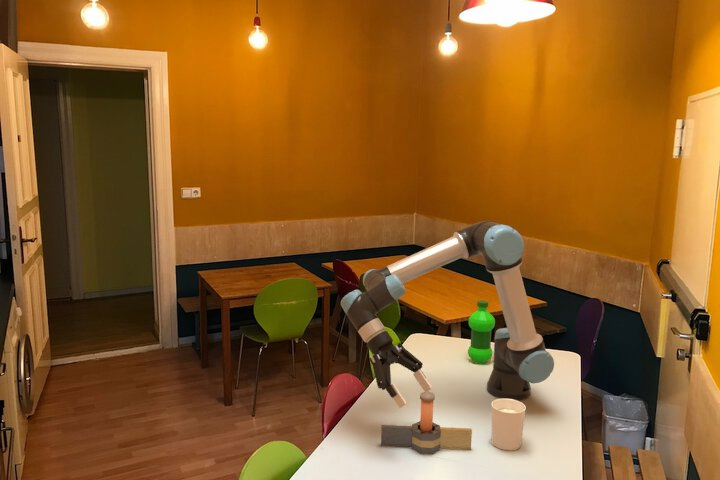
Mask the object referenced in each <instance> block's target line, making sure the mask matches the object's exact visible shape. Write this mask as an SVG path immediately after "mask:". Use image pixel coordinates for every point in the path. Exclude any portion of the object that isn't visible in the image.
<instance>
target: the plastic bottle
mask: <svg viewBox="0 0 720 480" xmlns="http://www.w3.org/2000/svg"><path fill="white" fill-rule="evenodd" d="M476 306H477V308H478V309H477V310H476V311H474V312H473V313H472V314H471V315H470V316H469V318H468V322H467V323H468V326H469V328H470V329H471V332H470V346H469V347H468V349H467V355H468V357H469V358H470V359H471V360H472V361H473V363H475V364H479V365H482V364H486V363H487V362H488V361H489V360H491V358H492V356H493V355H494V350H493V348H492V347H491V342H492V330H493V329H494V328H495V326H496V319H495V317H494V316H493V315H492V314H491V313H490V312H489V311H488V308H489V302H488V301H487V300H477V302H476Z"/></svg>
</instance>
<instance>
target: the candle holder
mask: <svg viewBox="0 0 720 480" xmlns="http://www.w3.org/2000/svg"><path fill="white" fill-rule="evenodd" d="M490 404H491V443H492V445H493V446H494V447H496V448H497V449H499V450H503V451H516V450H518V449H520V448H521V446H522V441H523V440H522V439H523V434H524V433H523V432H524V423H525V419H526V418H525V416H526V410H527V407H526V404H524V403H523V402H522V401H519V400H513V399H506V398H497V399H494V400H493V401H491V403H490Z"/></svg>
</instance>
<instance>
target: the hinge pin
mask: <svg viewBox="0 0 720 480" xmlns="http://www.w3.org/2000/svg"><path fill="white" fill-rule="evenodd" d="M435 398H436V395H435V393H433V392H430V391H427V392H424V391H423V392H421V393H420V394H419V399H420V418H419V421H420V430H421V431H423V432H432V423H434V422H433V421H434V419H433V417H434V401H435Z"/></svg>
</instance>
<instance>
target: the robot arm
mask: <svg viewBox="0 0 720 480" xmlns="http://www.w3.org/2000/svg"><path fill="white" fill-rule="evenodd" d="M524 249H525V244H524V239H523V237H522V235H521V234H520V233H519V232H518V230H516V229H515V228H513V227H511V226H509V225H506V224H501V223H498V222H495V221H492V220H483V221H482V220H481V221H479V222H476V223H474V224H473V223H472V224H470V225H468V226H466V227H464V228H462V229H460V230H457V231H455V232H454V233H453V235H452V236H451V237H448V238H447V239H444V240H442V241H440V242H438V243H436V244H434V245H432V246H429V247H426V248H424V249H422V250H420V251H418V252H415V253H413V254H411V255H409V256H407V257H404V258H402V259H399V260H397V261H396V262H393V263H391V264H388V265H386V266H384V267H382V268H379V269H376V268H373V269H369V270H367V271H366V272H365V273H364V274H363V277H362V283H363V285H362V286H364V289H365V291H364V292H362V291H361V290H360V289H355V290H352V291H350V292H348V293H347V294H346V295H344V297H342V298H341V301H340V306H341V308H342V310H343V311H344V313H345V315H346V316H347V318H348V320H349V321H350V322H351V323H352V325H353V327H354V328H355V329H356V331H357V333H358V335H359V336H360V337H361V339H362V340H363V342H364V343H366V347H367V349H368V350H369V351H370V353H371V354H372V356H370V357H369V361H370V363H371V366H372V369H373V374H374V377H375V382H376V385H377V388H378V389H379V390H382V391H385V390H386V392H387V393H388V395H389V397H391V399H392V400H394V403H395V404H396V406H397V407H398V408H399V409H401V408H402V407H404V406H405V405H406V404H407V401H406V399H405V398H404V396H403V394H402V393H401V392H400V390H399V389H398V387H397V386H396V384H395V382H394V383H392V377H391V376H392V375H391V373H392V372H391V365H393V364H399V365H401V366H402V367H403V368H405V369H407V370H409V371H411V372H413V373H412V375H413V377H414V378H415V380H416V381H417V382H418V384H419V385H420V387H421V389H422V391H423V392H430V390H431V389H432V388H433V386H432V385H431V384H430V382H429V380H428V379H427V376H426V375H425V374H424V372H423V371H422V370H421V369H423V362H422V361H420V360H419V359H418V358H417V357H416V356H415V355H413V354H412V353H411V352H409V350H407V349H406V348H405V347H404V345H403V344H402V343H400V342H399V343H397V344H396V345H394V344H393V341H394V340H393V337H392V336H391V334H390V333H389V332H388V331H387V330H386V327H385V326H384V324H383V323H382V321H381V320H380V319H379V317H378V316H377V314H379V312H381V311H383V310H384V309H386V308H387V307H389V306H390V305H391V304H393V303H395V302H396V301H399V299H401V298H402V297H403V296H404V295H405V294H406V292H407V291H406V288H405V285H404V284H405V283H407V282H410V281H412V280H414V279H416V278H419V277H421V276H423V275H425V274H428V273H430V272H433V271H434V270H436V269H439V268H441V267H443V266H446V265H447V264H450V263H453V262H455V261H457V260H460V259H461V258H464V259H469V258H471V257H474V256H482V258H483V262H484V265H485V270H486V271H487V272H488V273H490V274H492V277H493V280H494V281H493V282H494V284H495V288H496V292H497V296H498V298H499V299H498V300H499V303H500V306H501V307H500V308H501V310H502V315H503V317H504V322H505V325H506V327H503V328H501V327H500V328H498V329H497V330H496V331H495V332H494V333H495V334H494V343H493V344H494V345H493V363H492V364H493V365H492V367H493V368H492V371H491V373H490V376H489V377H488V381H487V383H486V384H487V386H486V391H487V392H488V393H489V394H491V395H492V396H494V397H496V398H498V399H502V398H506V399H513V400H517V401H519V400H525V399H527V398H529V397H530V396H531V393H532V392H531V389H532V388H531V385H530V384H540V383H543V382H544V381H546V380H547V379H549V377H550V375H551V374H552V373H553V371H554V368H555V360H554V358H553V356H552V354H551V353H550V352H549V351H547V350H546V346H545V342H544V338H543V336H542V335H541V334H539V333H538V332H537V331H536V327H535V323H534V319H533V315H532V312H531V308H530V304H529V301H528V297H527V293H526V289H525V286H524V281H523V277H522V274H521V269H520V267H521V265H522V264H523V256H522V255H523V253H524Z"/></svg>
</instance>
